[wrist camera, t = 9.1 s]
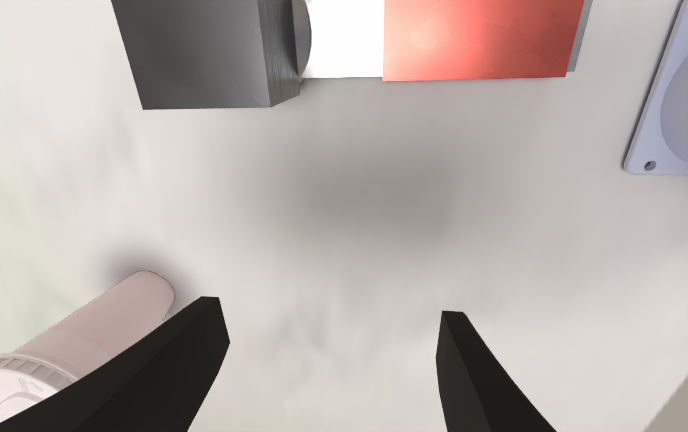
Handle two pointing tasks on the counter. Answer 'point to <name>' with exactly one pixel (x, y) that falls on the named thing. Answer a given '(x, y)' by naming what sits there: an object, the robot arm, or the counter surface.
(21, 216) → the counter surface
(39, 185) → the counter surface
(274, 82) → the charcoal grey cube
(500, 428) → the robot arm
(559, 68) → the ratchet
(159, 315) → the smoothie
